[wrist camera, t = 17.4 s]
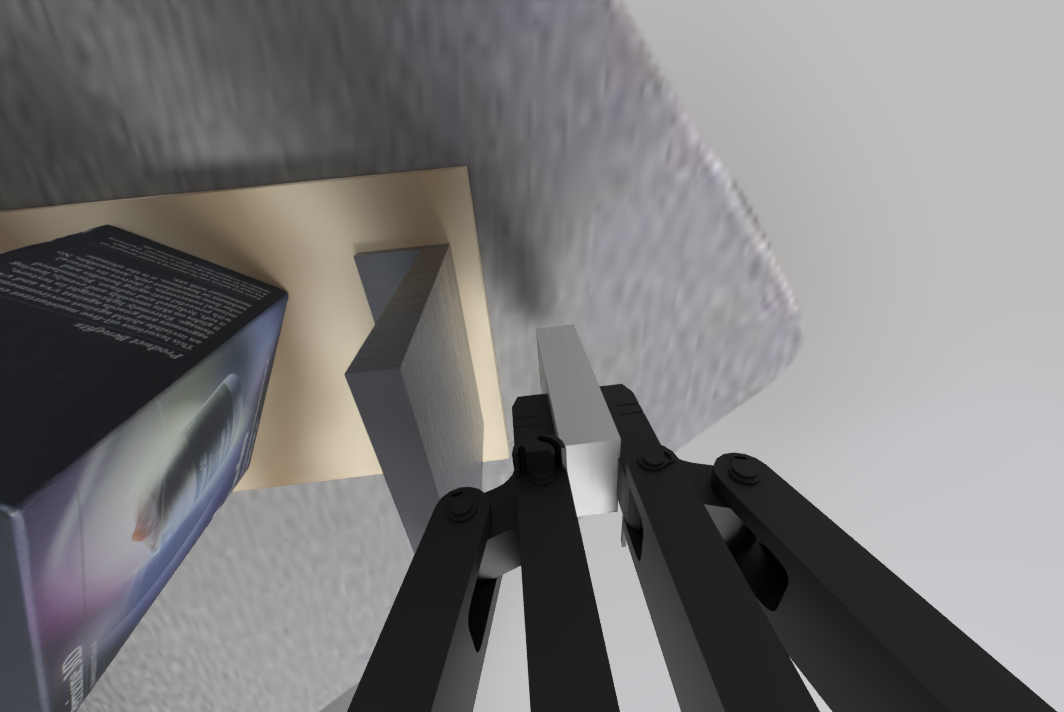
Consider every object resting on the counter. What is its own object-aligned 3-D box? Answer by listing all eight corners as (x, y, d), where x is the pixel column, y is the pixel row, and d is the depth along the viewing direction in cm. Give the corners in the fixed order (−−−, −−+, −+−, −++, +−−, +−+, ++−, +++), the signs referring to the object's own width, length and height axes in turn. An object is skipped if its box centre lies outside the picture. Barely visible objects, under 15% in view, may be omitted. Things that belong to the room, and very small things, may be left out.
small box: (259, 471, 20) (58, 762, 11) (104, 433, 18) (-302, 748, 9) (301, 292, 15) (17, 529, 6) (100, 216, 13) (-736, 398, 4)
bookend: (413, 432, 19) (358, 637, 11) (357, 252, 15) (202, 390, 7) (484, 424, 19) (476, 622, 12) (450, 243, 15) (400, 368, 7)
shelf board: (-132, 521, 20) (-160, 538, 20) (-519, 261, 13) (-590, 269, 12) (508, 445, 21) (509, 458, 21) (467, 165, 14) (465, 168, 13)
